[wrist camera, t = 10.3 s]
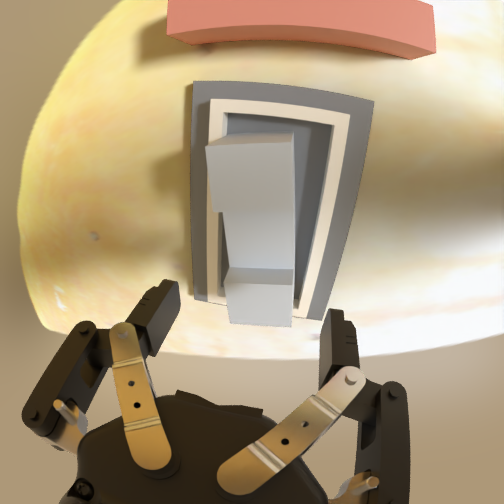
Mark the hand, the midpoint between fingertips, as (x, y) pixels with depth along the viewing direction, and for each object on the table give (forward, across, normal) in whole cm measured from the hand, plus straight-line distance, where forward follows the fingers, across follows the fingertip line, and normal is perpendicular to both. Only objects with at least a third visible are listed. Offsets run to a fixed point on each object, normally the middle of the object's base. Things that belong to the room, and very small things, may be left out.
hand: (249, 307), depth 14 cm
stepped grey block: (+11, +1, 0) cm, 11 cm away
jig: (+12, 0, 0) cm, 12 cm away
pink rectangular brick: (+12, -1, -17) cm, 21 cm away
